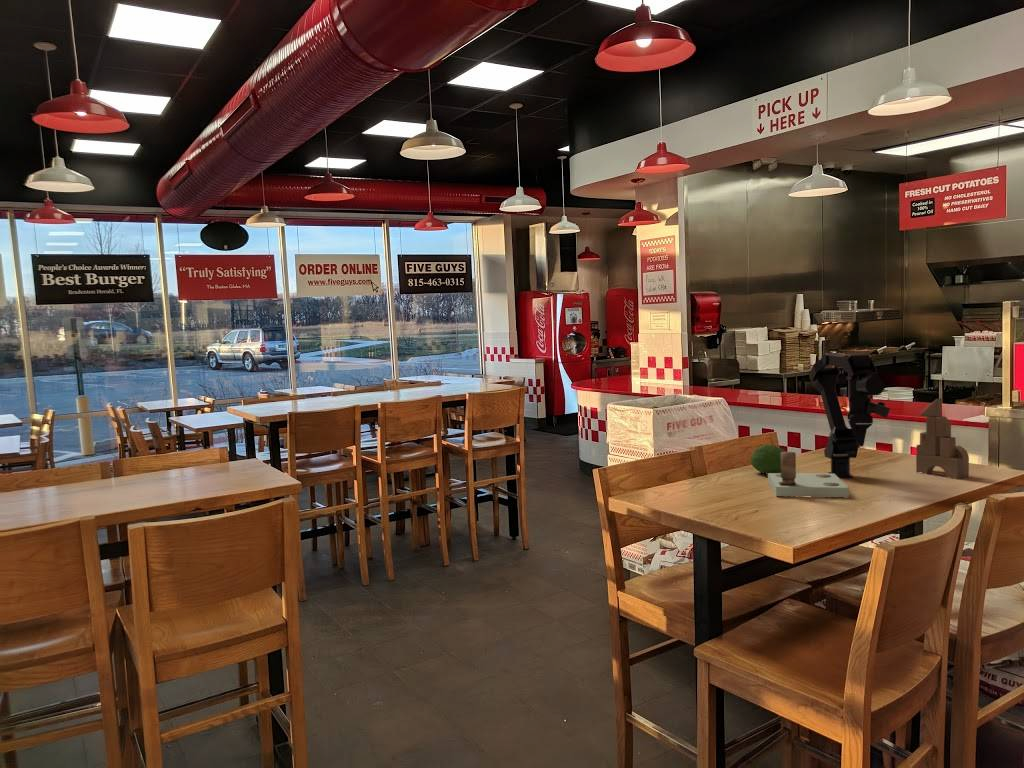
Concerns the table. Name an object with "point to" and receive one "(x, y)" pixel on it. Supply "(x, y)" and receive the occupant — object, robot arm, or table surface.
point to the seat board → (810, 485)
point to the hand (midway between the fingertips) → (860, 444)
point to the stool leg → (788, 468)
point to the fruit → (767, 459)
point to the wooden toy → (940, 445)
